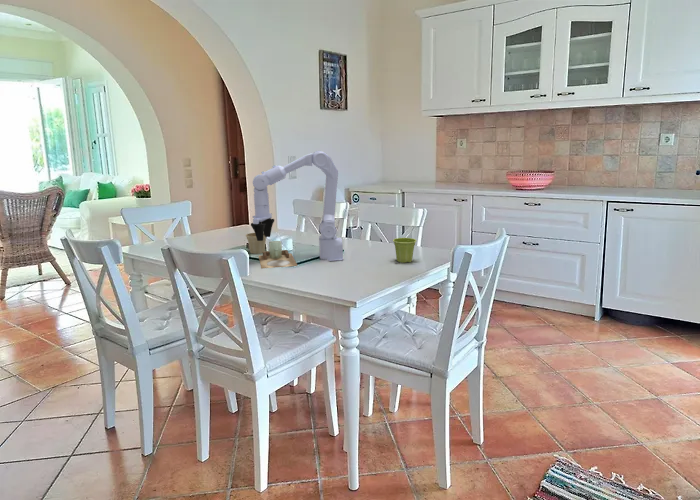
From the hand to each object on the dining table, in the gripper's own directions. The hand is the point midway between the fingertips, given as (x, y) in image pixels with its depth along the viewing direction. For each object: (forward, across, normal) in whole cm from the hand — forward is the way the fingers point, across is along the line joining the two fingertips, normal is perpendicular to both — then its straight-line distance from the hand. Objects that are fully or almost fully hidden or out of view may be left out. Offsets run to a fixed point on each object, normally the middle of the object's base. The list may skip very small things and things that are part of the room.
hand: (263, 238), depth 208 cm
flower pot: (+10, -14, -9) cm, 20 cm away
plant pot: (+10, -11, +55) cm, 57 cm away
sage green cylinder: (+9, -5, +3) cm, 11 cm away
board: (+10, -1, +5) cm, 11 cm away
